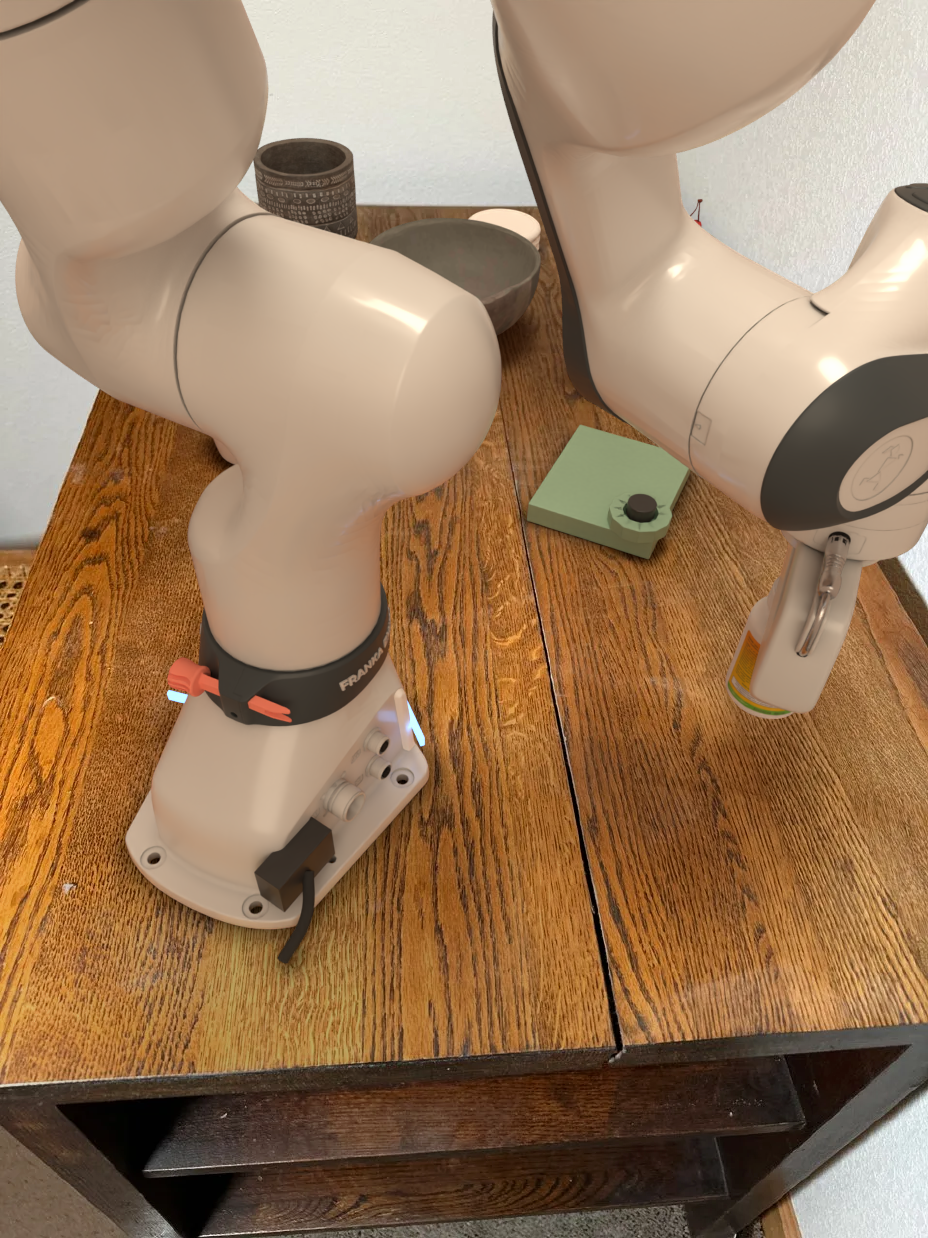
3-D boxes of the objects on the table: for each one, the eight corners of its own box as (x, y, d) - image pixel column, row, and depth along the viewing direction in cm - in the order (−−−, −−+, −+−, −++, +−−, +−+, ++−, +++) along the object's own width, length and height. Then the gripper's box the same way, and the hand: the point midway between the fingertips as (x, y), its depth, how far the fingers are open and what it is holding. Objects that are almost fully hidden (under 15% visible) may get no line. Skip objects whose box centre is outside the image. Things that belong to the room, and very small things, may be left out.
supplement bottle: (804, 727, 64) (853, 630, 57) (724, 714, 64) (763, 616, 57) (798, 669, 67) (843, 570, 60) (722, 657, 68) (759, 558, 61)
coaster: (551, 245, 127) (554, 219, 124) (515, 273, 121) (517, 247, 118) (488, 225, 130) (490, 200, 128) (450, 252, 124) (450, 226, 122)
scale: (654, 567, 84) (661, 538, 81) (523, 525, 87) (526, 496, 85) (697, 475, 93) (704, 447, 90) (577, 440, 96) (581, 412, 94)
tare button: (649, 526, 83) (652, 515, 82) (621, 518, 84) (624, 506, 83) (658, 509, 84) (660, 498, 83) (630, 501, 85) (633, 490, 84)
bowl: (463, 276, 120) (465, 197, 113) (569, 345, 109) (579, 263, 102) (329, 321, 111) (323, 239, 104) (430, 402, 101) (430, 316, 93)
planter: (367, 274, 120) (362, 171, 110) (272, 284, 117) (258, 179, 108) (350, 232, 127) (344, 133, 118) (260, 241, 125) (247, 140, 116)
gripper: (892, 624, 45) (804, 786, 55) (922, 413, 58) (847, 573, 68) (762, 585, 47) (699, 749, 57) (821, 387, 60) (761, 548, 70)
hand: (781, 651), depth 63 cm, fingers closed on supplement bottle, 5 cm apart
